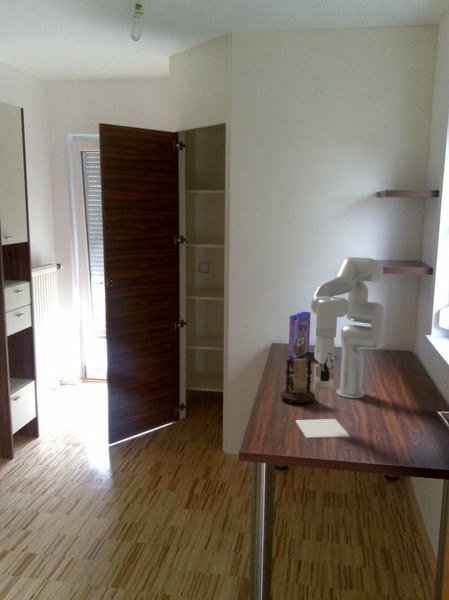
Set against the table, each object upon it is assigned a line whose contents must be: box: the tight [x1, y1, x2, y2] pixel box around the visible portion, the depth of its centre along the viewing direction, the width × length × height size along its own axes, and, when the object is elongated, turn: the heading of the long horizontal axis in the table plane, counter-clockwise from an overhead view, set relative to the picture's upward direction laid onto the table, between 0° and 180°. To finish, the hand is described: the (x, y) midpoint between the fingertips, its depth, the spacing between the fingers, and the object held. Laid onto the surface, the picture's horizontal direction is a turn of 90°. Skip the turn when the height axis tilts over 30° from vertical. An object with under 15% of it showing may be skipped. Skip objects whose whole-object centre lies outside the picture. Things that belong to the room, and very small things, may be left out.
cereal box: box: [288, 311, 312, 359], centre depth 303 cm, size 17×5×24 cm, turn 147°
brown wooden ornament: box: [280, 354, 316, 405], centre depth 228 cm, size 15×15×20 cm
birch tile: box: [313, 363, 335, 391], centre depth 200 cm, size 3×7×9 cm, turn 97°
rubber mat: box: [295, 418, 350, 439], centre depth 198 cm, size 16×16×1 cm
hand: (323, 379), depth 200 cm, fingers closed on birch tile, 2 cm apart
